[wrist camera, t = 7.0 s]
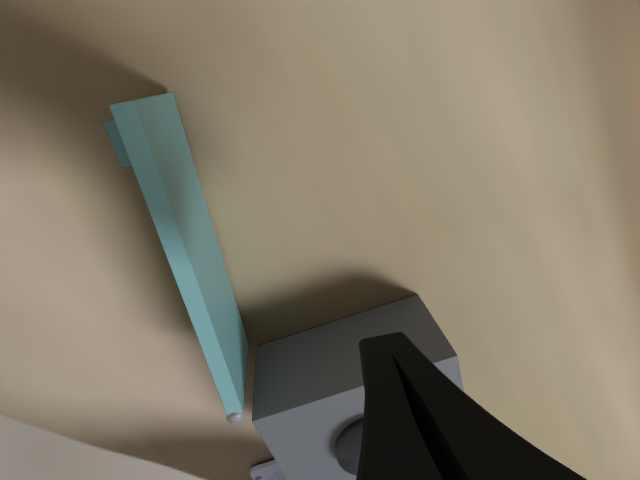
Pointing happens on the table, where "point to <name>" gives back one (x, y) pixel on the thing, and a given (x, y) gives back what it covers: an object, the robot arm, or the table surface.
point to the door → (185, 234)
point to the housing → (332, 387)
